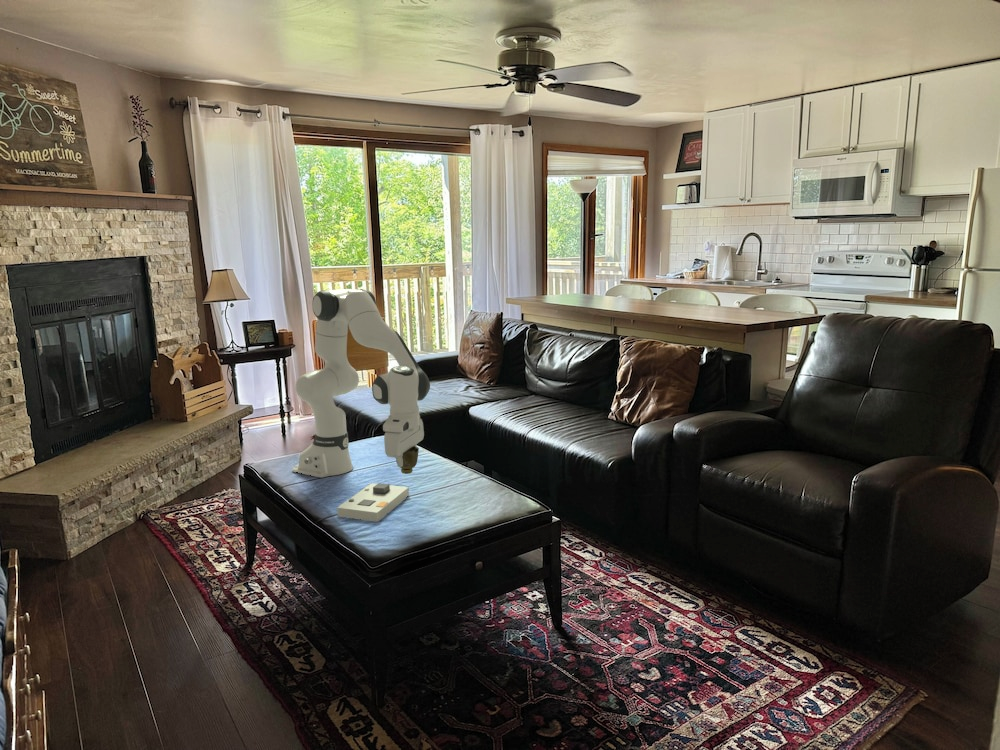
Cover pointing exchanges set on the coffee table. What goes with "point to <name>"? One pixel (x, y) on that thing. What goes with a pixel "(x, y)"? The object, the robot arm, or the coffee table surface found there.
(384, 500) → the panel
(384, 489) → the block
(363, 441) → the coffee table surface
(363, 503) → the block
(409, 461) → the brown textured goblet
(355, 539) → the coffee table surface
